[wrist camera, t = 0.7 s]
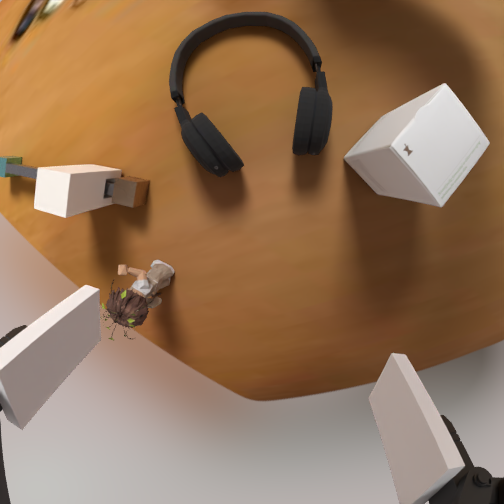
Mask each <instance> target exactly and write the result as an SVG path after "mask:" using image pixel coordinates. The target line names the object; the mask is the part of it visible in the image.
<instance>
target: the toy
mask: <svg viewBox="0 0 504 504" xmlns="http://www.w3.org/2000/svg"><path fill="white" fill-rule="evenodd" d="M127 266H128V265H118V274H119V275H127V272H128V273H129V274H131V275H133V276H135V277H137V281H135V282H134V283H133V285H132V286H131V288H130V289H128V288H127V289H126V290H123V289H122V290H121V291H120V288H119V287H118V290H117V291H116V293H115V292H114V290H113V291H112V293H111V294H110V293H109V295H110V300H109V299H108V301H107V304H106V305H107V309H106V310H108V312H109V313H110V315H108V316H110V317H111V318H112V319H113V320H114V322H115V323H116V322H117V323H118V324H120V325H122V326H125V327H128V328H129V327H131V328H133V327H135V326H137V325H142V324H143V321H144V320H145V319H146V318H147V317H146V316H147V314H148V312H149V311H147V310H148V309H149V308H154V307H156V306H158V305H159V304H161V302H162V299H161V298H159V297H157V296H159V295H161V293H157V291H158V290H159V289H161V288H163V287H165V286H168V285H169V284H170V277H171V276H173V274H174V270H173V268H172V266H170V265H168V264H166V263H164V262H162V261H160V260H155V261H153V263H152V265H151V267H152V269H151V270H149V272H148V273H146V271H145V270H141V269H135V268H130V267H128V268H127ZM113 281H114V280H113ZM111 284H113V282H112V283H111ZM111 289H112V286H111ZM102 307H103V309H105V307H104V304H103V303H102ZM105 320H107V319H105ZM107 328H108V329H109V327H107ZM134 331H135V330H134ZM124 336H125V335H124ZM109 339H111V340H113V338H109ZM130 339H131V338H130Z"/></svg>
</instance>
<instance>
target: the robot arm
mask: <svg viewBox="0 0 504 504" xmlns="http://www.w3.org/2000/svg"><path fill="white" fill-rule="evenodd" d="M99 306H100V302H99V289H97V288H94V287H91V286H88V285H85V286H83V287H82V288H80V289H79V290H77V291H76V292H75V293H73V294H72V295H70V296H69V297H68V298H66V299H65V300H63V301H62V302H60V303H59V304H58V305H56V306H55V307H53V308H52V309H51V310H50V311H48V312H47V313H46V314H44V315H43V316H41V317H40V318H39V319H37V320H36V321H35V322H33V323H32V324H30V325H29V326H26V325H23V326H20V327H18V328H15V329H13V330H12V331H10V332H9V333H8V334H6V336H5V337H2V338H1V339H0V411H1V410H2V409H3V411H4V413H5V416H6V418H7V420H9V421H10V422H11V423H13V424H14V425H16V426H17V427H19V428H20V429H23V428H24V427H25V426H26V425H27V423H28V422H29V421H30V420H31V418H32V417H33V416H34V415H35V414H36V413H37V411H38V410H39V409H40V408H41V407H42V406H43V404H44V403H45V402H46V401H47V400H48V399H49V397H50V396H51V395H52V394H53V393H54V392H55V390H56V389H57V388H58V387H59V386H60V385H61V384H62V382H63V381H64V380H65V379H66V378H67V377H68V375H70V373H71V372H72V371H73V370H74V369H75V368H76V366H77V365H79V363H80V362H81V361H82V360H83V359H84V358H85V357H86V356H87V355H88V354H89V352H90V351H91V350H92V349H93V348H94V347H95V346H96V345H97V344H98V342H100V341H101V330H100V307H99ZM368 399H369V402H370V405H371V408H372V411H373V414H374V417H375V421H376V424H377V427H378V429H379V433H380V436H381V440H382V443H383V446H384V449H385V453H386V456H387V460H388V463H389V466H390V470H391V473H392V477H393V481H394V484H395V488H396V492H397V496H398V499H399V503H400V504H425V503H426V502H427V501H429V504H504V478H493V477H492V475H491V474H490V473H489V472H488V471H487V470H486V469H484V468H481V467H474V465H473V463H472V461H471V459H470V457H469V455H468V454H467V451H466V449H465V448H464V445H463V444H462V442H461V441H460V438H459V436H458V434H456V430H455V428H454V427H453V425H452V423H451V422H450V421H449V420H448V419H447V418H446V417H445V416H444V415H440V414H439V412H438V411H437V409H436V407H435V405H434V403H433V401H432V400H431V398H430V396H429V394H428V392H427V391H426V389H425V387H424V385H423V384H422V382H421V380H420V378H419V377H418V375H417V373H416V371H415V370H414V368H413V366H412V365H411V363H410V361H409V360H408V358H407V356H406V355H405V354H397V353H391V355H390V357H389V359H388V361H387V363H386V365H385V367H384V369H383V371H382V373H381V375H380V377H379V379H378V381H377V383H376V385H375V387H374V388H373V390H372V392H371V394H370V396H369V397H368ZM0 504H11V503H10V498H9V493H8V488H7V482H6V477H5V470H4V462H3V453H2V442H1V424H0Z"/></svg>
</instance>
